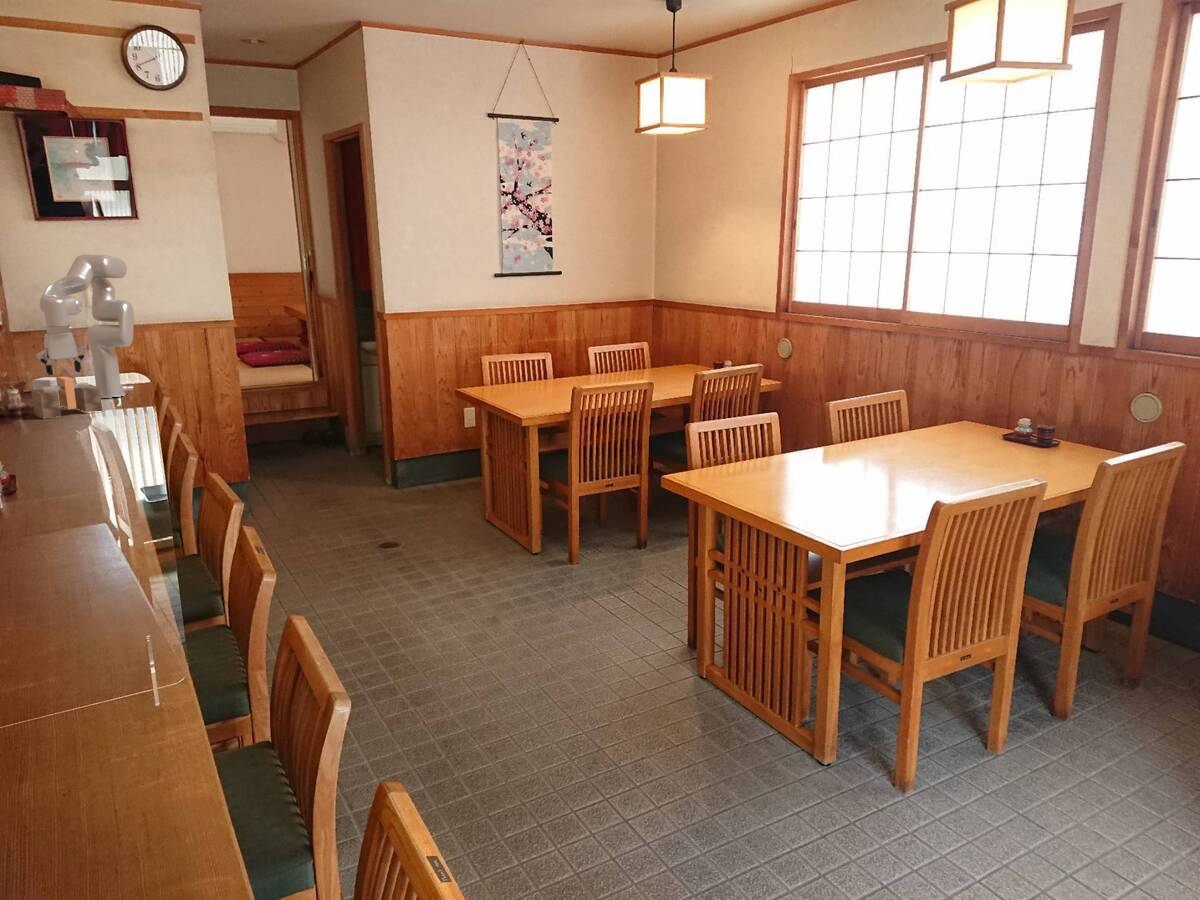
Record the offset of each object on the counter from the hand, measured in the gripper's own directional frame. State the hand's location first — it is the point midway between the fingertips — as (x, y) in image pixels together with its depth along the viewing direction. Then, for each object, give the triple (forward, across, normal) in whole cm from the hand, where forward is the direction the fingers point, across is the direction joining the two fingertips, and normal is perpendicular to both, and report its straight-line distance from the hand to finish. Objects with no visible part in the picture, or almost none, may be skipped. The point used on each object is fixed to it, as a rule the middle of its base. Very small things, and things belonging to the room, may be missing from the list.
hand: (64, 373), depth 331 cm
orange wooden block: (+14, 0, 0) cm, 14 cm away
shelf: (+16, 0, 0) cm, 16 cm away
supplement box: (+17, +2, -13) cm, 22 cm away
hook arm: (+6, 0, 0) cm, 6 cm away
